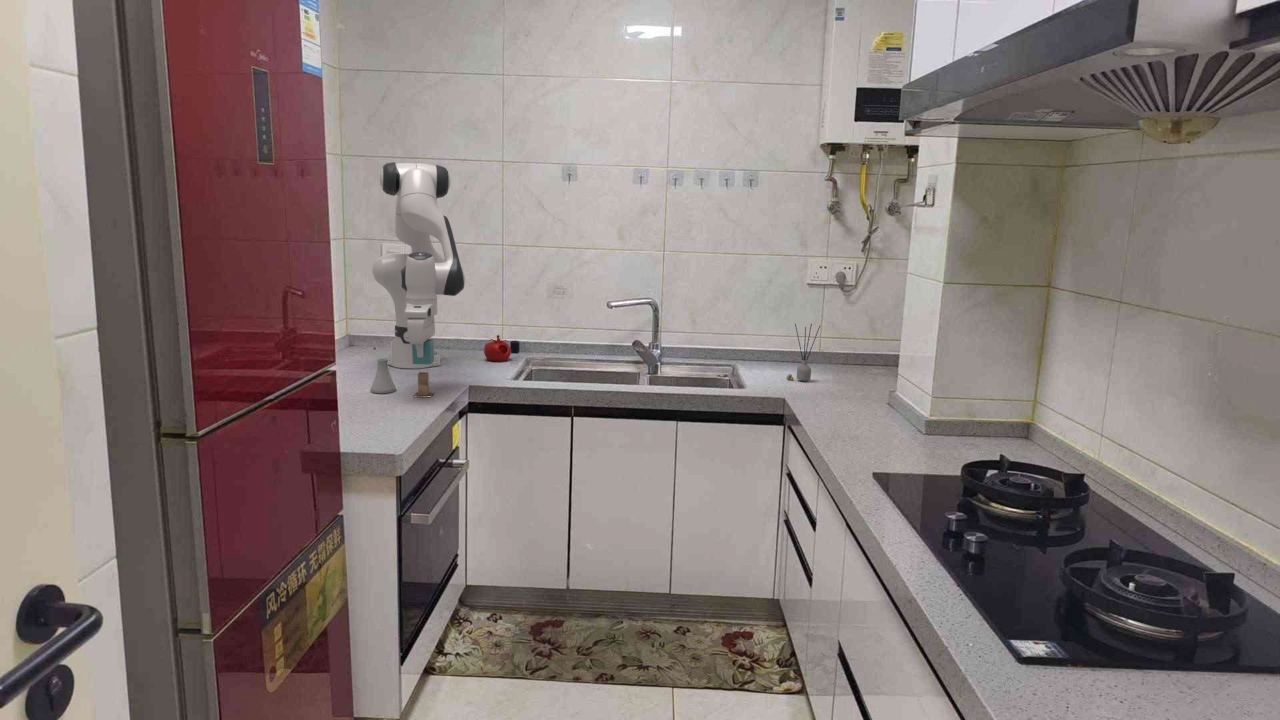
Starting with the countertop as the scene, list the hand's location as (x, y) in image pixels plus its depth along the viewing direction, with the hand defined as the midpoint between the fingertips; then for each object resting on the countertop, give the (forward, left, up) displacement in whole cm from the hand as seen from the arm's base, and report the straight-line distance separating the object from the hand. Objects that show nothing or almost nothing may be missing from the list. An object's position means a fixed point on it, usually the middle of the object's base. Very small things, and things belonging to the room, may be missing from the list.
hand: (423, 355), depth 246 cm
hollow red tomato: (-58, +15, -13) cm, 61 cm away
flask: (-5, -13, -13) cm, 19 cm away
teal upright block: (0, 0, -2) cm, 2 cm away
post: (0, 0, -12) cm, 12 cm away
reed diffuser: (-28, +121, -13) cm, 125 cm away
